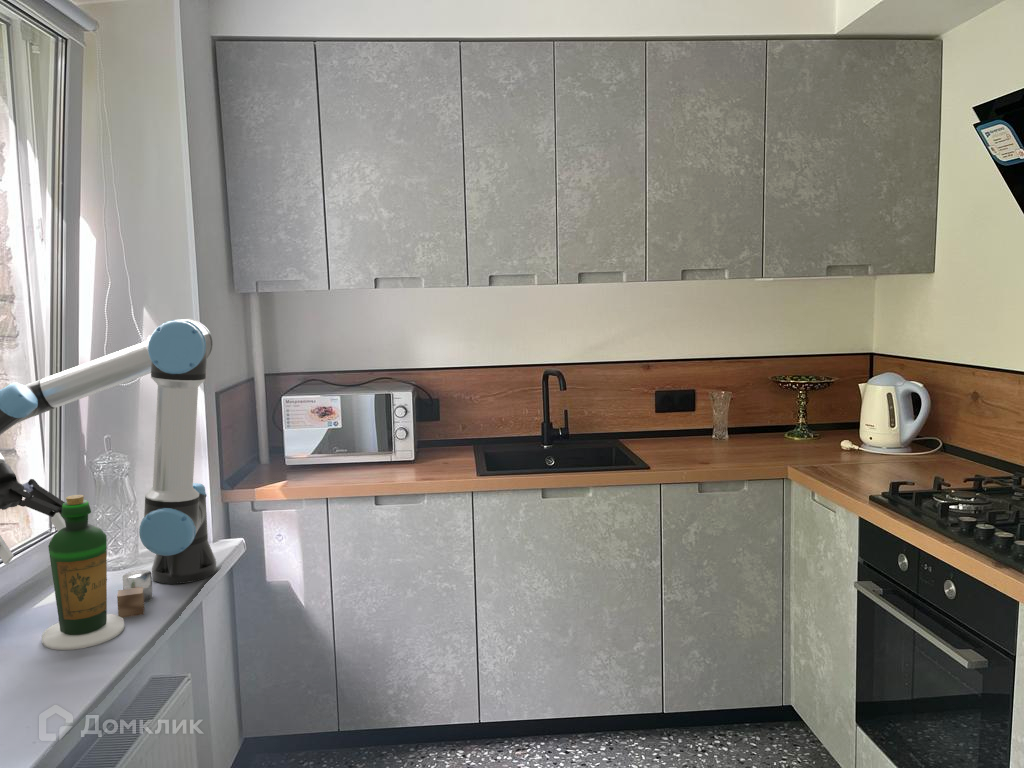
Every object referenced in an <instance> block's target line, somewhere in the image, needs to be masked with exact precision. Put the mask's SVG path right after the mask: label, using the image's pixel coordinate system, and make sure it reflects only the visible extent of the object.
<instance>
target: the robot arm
mask: <svg viewBox="0 0 1024 768" xmlns="http://www.w3.org/2000/svg"><path fill="white" fill-rule="evenodd" d="M213 344H214V343H213V337H212V334H211V331H210V330H209V329H208V328H207V327H206V326H205V325H204V324H203V323H201V322H200V321H198V320H194V319H193V318H180V319H171V320H168V321H164V322H163V323H161V324H159V326H157V327H156V328H155V329H154V330H153V332H152V333H151V334H149V335H148V337H147V339H146V341H145V340H144V341H143V342H141V343H137V344H135V345H134V344H133V345H132V346H129V347H126V348H123V349H120V350H119V351H115V352H112V353H109V354H106V355H105V356H101V357H99V358H96V359H93V360H89V361H88V362H85V363H82V364H80V365H77V366H74V367H71V368H68V369H65V370H63V371H60V372H58V373H54V374H52V375H49V376H46V377H43V378H42V379H39V380H35V381H33V382H29V383H27V384H22V383H19V382H16V381H15V382H11V383H9V384H8V385H6V386H5V387H3V388H0V436H1V435H2V434H4V433H6V431H8V430H9V429H10V428H12V427H14V426H15V425H16V424H18V423H21V422H24V421H25V420H28V419H30V418H33V417H36V416H39V415H41V414H43V413H47V412H49V411H52V410H55V409H57V408H60V407H61V406H64V405H67V404H70V403H73V402H76V401H79V400H81V399H84V398H87V397H90V396H92V395H95V394H98V393H100V392H103V391H105V390H109V389H112V388H114V387H116V386H117V387H118V386H119V385H122V384H126V383H127V382H130V381H132V380H136V379H139V378H141V377H144V376H147V375H149V374H150V378H151V379H152V380H153V381H154V382H155V384H156V385H157V393H156V395H157V396H156V415H155V435H154V436H155V437H154V459H153V475H152V476H153V480H152V487H151V488H150V489H149V490H148V491H147V492H146V493H145V495H144V496H145V497H144V513H143V518H142V520H141V521H140V525H139V531H138V533H139V534H138V535H139V536H138V537H139V539H140V542H141V544H142V545H143V546H144V547H145V548H146V549H147V550H148V551H149V552H151V553H153V554H154V555H155V556H154V560H153V563H152V567H151V577H152V581H155V582H157V583H160V584H170V585H171V584H173V585H174V584H176V585H177V584H185V583H191V582H195V581H200V580H203V579H206V578H208V577H210V576H211V575H213V574H215V573H216V572H217V559H216V557H215V554H214V552H213V550H212V547H211V545H210V542H209V536H208V535H209V533H208V517H207V515H208V514H207V497H208V496H207V493H206V487H205V485H204V484H202V483H199V482H198V483H195V482H194V475H195V474H194V472H195V470H194V469H195V450H196V435H197V433H196V431H197V418H198V417H197V416H198V414H197V413H198V396H199V386H200V385H201V384H203V383H204V382H205V381H206V379H207V377H206V375H207V359H208V358H209V356H210V354H211V352H212V351H213ZM23 498H24V499H23ZM63 503H66V501H63V500H62V499H60V498H59V497H57V496H56V495H54V494H53V493H52V492H50V491H49V490H47V489H45V488H44V487H42V486H41V485H39V483H38V482H37V481H36V480H35V479H34V478H30V479H29V480H28V481H27V482H25V483H21V482H19V481H18V479H17V475H16V473H15V472H14V471H13V469H12V468H11V466H10V465H9V464H8V463H7V461H6V459H5V457H4V456H3V455H2V452H0V510H2V511H5V510H7V509H9V508H16V507H18V506H20V507H26V508H29V509H32V510H34V511H36V512H39V513H42V514H44V515H46V516H49V517H51V518H50V522H51V524H52V525H53V526H54V528H55V529H56V531H57V532H58V531H60V530H61V529H62V528H65V527H66V525H65V519H64V517H62V516H61V512H62V506H63ZM14 557H15V555H14V554H13V552H12V551H11V549H10V547H9V546H8V545H7V543H6V541H5V540H4V539H3V537H2V535H0V559H1V561H2V562H3V564H4V565H8V564H10V563H11V561H12V559H13V558H14Z"/></svg>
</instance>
